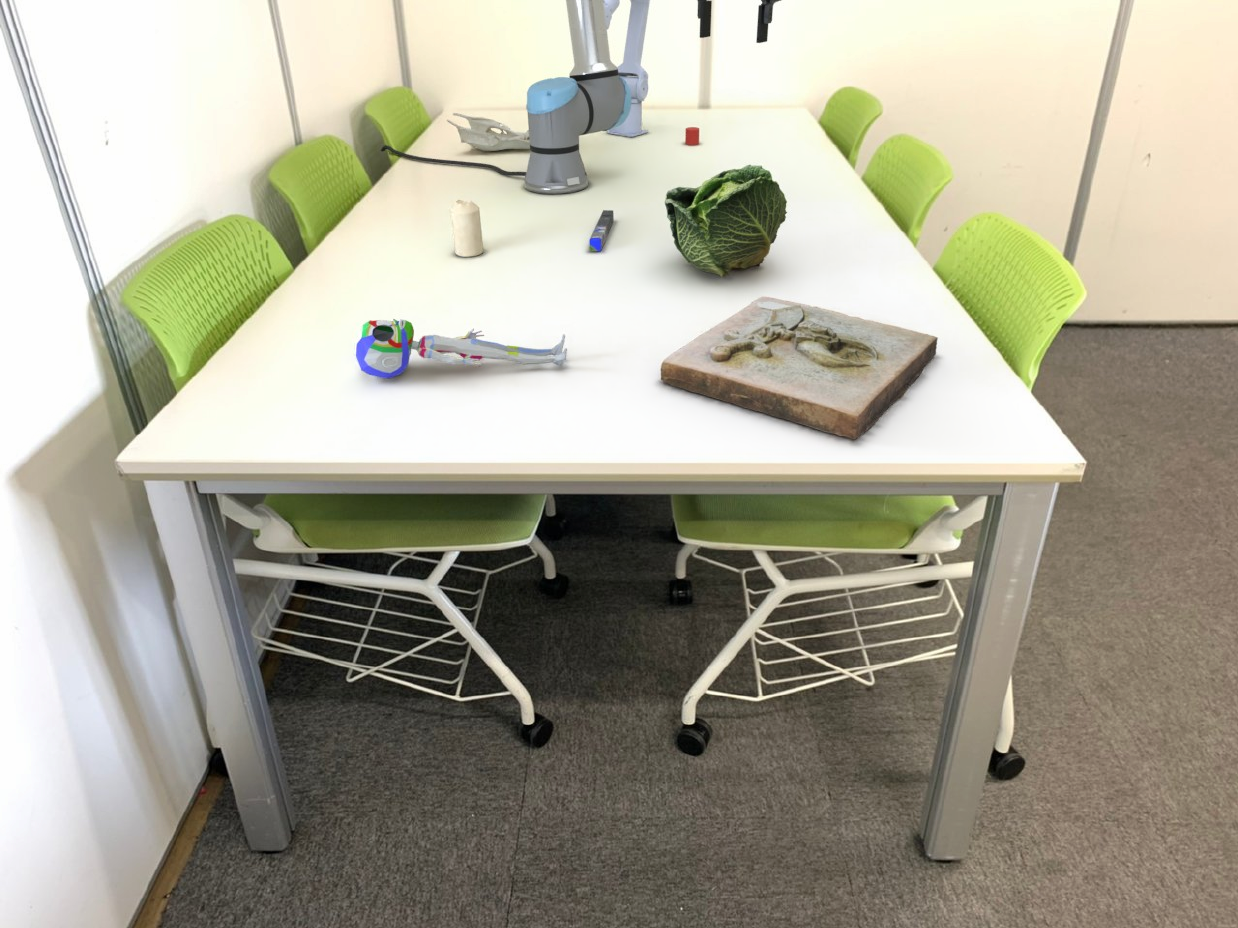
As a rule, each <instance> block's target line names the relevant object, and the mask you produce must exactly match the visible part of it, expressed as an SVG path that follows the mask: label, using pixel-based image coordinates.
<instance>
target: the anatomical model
mask: <svg viewBox="0 0 1238 928" xmlns="http://www.w3.org/2000/svg"><path fill="white" fill-rule="evenodd" d="M452 116H455V117H460V118H463V119H465V120H467V121H468V124H469V126H470V128H469V127H464V126H462V125H458V124H456V123H454V122H453V121H451V120H449V119H446V122H447V123H449V124H451V125H452V126H454V127H456V129H457V132H458V135H459V138H460V143H463V144H464V143H465V144H468V145H470V146H471V147H472V148H474V149H478V150H479V151H482V152H498V151H502V150H507V149H508V150H510V149H519V150H520V149H522V150H530V142H529V129H528V130H526V132H519V131H513V130H512V129H511V127H509V126H508V125H506V124H504V123H502V122H500V121H498V120H495V119H492V118H488V117H484V116H483V117H482V116H470V115H466V114H463V113H458V112H453V113H452ZM493 129H497V130H499V131H501V132H496V131H494V130H493Z"/></svg>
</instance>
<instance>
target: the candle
mask: <svg viewBox="0 0 1238 928" xmlns="http://www.w3.org/2000/svg"><path fill="white" fill-rule="evenodd" d="M449 212H450V213H449V214H450V222H451V228H452V231H451V232H452V239H453V247H454V253H455V255H457V256H459V257H465V258H466V257H467V258H468V257H475V256H479V255H481V254H483V252H484V242H483V234H482V233H483V232H482V231H483V230H482V222H481V221H482V220H481V212H480V207H479V205H478V204H476V203H475V202H474V201H472V200H470V201H468V200H465V199H464V200H462V199H457V200H456V201H455V202H454V203H453V205H452V206H451V207H450V209H449Z"/></svg>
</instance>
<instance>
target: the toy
mask: <svg viewBox="0 0 1238 928" xmlns="http://www.w3.org/2000/svg"><path fill="white" fill-rule="evenodd" d="M474 331H475V328H472V329H471V330H469V331H468V332H467V333H466V334H465V335H463V336H458V337H449V336H448V337H447V336H442V335H439V334H428V335H423V336H421V338H420V339H419V341H417V340H414V336H415V329H414V326H413V324H412V322H410V321H408V320H407V319H399V320H397V319H395V318H392V320H387V319H379V320H368V321H367V322H365V323H364V324H362V326H361V329H360V331H359V333H358V334H357V338H356V340H355V342H354V354H353V355H354V357H355V359H356V362H357V364H358V366H359V369H360V370H361V372H364V373H366V374H367V375H370V376H373V377H377V378H382V379H383V378H384V379H392V378H394V377H396V376H398V375H400V374H401V375H402V374H403V372H404V371H405V370H406V368H407V367H408V366H409V364H410V357H411V355H412V350H415V351H417V353H418V356H419V357H421V358H422V359H430V360H434V361H438V362H442V363H444V364H449V365H458V364H459V365H461V364H465V365H471V366H477V367H479V368H480V367H481V366H482V365H483V363H482V362H478V361H480V360H482V359H487V360H488V359H489V360H503V361H509V362H514V363H517V364H520V365H528V366H529V365H542V364H550V363H553V364H555V365H557V366H559V367H562V366H563V364H564V362H565V361H566V360H567V357H568V355H567V353H568V348H566V347H565V348H564V345H565V340H566V334H565V333H563V334H562V338H561V340H560V341H559V343H558V344H556V345H555V346H554V347H552V348H533V347H532V348H531V347H523V346H518V345H517V346H516V345H504V344H501V343H498V342H494V341H488V340H482V339H478V338H479V337H480V338H481V337H485V334H480V333H482V332H483V331H482V330H479V331H476V332H474ZM563 349H564V350H563ZM453 353H455V354H457V355H459V357H458V356H455V355H448V354H453ZM445 354H447V355H445Z"/></svg>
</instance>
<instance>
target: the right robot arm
mask: <svg viewBox="0 0 1238 928" xmlns="http://www.w3.org/2000/svg"><path fill="white" fill-rule="evenodd" d="M603 1H604V10H605V18H606V27H607V30H609V28H610V25H611V20H612V17H613V15H614V13H615V12H616V10H617V9H618V8H619V7H620V4H621V1H620V0H603ZM629 1H630V10H629V14H628V15H629V17H628V23H627V30H626V37H625V43H624V44H625V45H624V52H623V57H622V63H621V64H619V65H617V67H618V74H619V76H620V77H622V78H623V79H624V80H625V81H626V84H627V85H628V86H629V88H630V91H631V109H630V112H629V115H628V117H627V118H626V120H625V121H624V123H623V124H621V125H620V126H618V127H616V128H612V129H610V130H608V131H606V133H607V134H609V135H610V134H611V135H615V136H622V137H628V138H634V137H636V136H641V135H644V134H647V133H649V130H645V129H643V121H642V120H643V108H642V107H643V102H644V101H645V99H646V98H647V96H648V93H649V73H648V72H647V70H645V68H643V66H642V65H641V64H642V59H643V52H644V51H643V50H644V44H645V39H646V38H645V37H646V30H647V24H648V17H649V10H650V2H651V0H629Z"/></svg>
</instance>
